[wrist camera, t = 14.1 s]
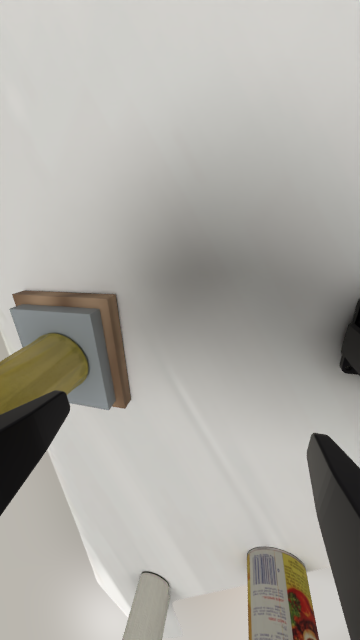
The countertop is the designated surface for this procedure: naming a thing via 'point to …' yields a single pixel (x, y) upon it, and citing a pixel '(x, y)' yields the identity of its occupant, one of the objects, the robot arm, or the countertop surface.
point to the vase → (41, 370)
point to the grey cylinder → (148, 609)
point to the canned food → (278, 597)
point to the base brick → (109, 324)
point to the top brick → (85, 333)
